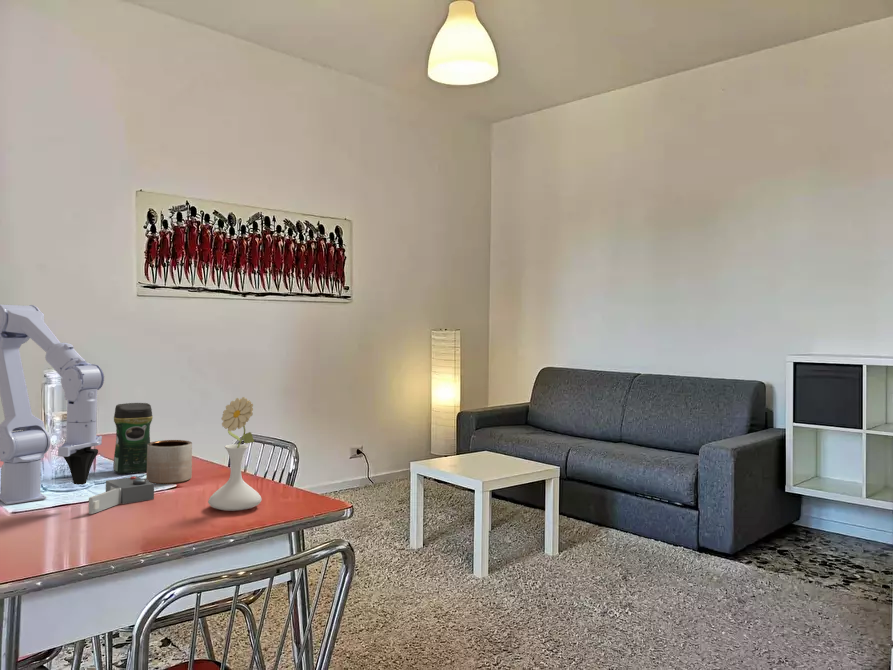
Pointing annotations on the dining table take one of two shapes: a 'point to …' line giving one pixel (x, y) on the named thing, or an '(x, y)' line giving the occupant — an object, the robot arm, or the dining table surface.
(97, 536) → the dining table surface
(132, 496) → the grey switch box
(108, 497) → the side door
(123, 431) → the coffee jar
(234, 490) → the flower in vase
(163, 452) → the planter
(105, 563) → the dining table surface
